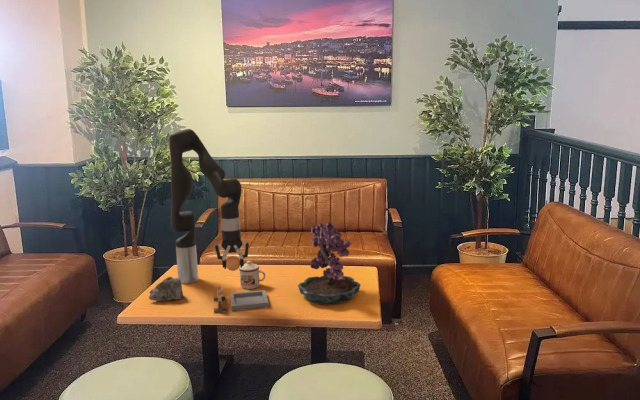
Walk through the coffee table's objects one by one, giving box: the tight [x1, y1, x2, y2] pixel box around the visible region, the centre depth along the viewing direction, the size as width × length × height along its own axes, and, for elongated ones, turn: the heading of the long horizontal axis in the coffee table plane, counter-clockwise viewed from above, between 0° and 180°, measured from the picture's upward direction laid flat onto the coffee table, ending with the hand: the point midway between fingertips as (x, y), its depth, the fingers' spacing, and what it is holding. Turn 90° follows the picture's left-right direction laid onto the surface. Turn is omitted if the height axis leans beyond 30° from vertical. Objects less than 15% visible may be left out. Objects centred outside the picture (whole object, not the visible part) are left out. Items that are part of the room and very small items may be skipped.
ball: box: [226, 255, 240, 272], centre depth 224 cm, size 6×6×6 cm
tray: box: [229, 289, 270, 312], centre depth 229 cm, size 15×15×2 cm
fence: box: [213, 286, 228, 314], centre depth 227 cm, size 16×5×5 cm, turn 11°
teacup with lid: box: [238, 260, 266, 290], centre depth 248 cm, size 12×9×12 cm
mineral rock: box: [148, 276, 184, 302], centre depth 235 cm, size 13×11×10 cm
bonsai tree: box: [297, 221, 361, 306], centre depth 234 cm, size 35×27×33 cm
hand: (233, 267), depth 225 cm, fingers closed on ball, 6 cm apart
